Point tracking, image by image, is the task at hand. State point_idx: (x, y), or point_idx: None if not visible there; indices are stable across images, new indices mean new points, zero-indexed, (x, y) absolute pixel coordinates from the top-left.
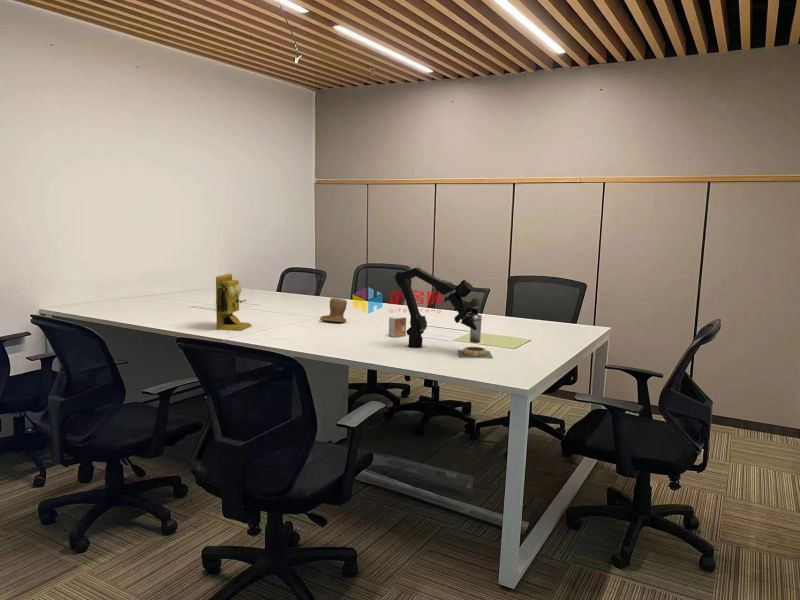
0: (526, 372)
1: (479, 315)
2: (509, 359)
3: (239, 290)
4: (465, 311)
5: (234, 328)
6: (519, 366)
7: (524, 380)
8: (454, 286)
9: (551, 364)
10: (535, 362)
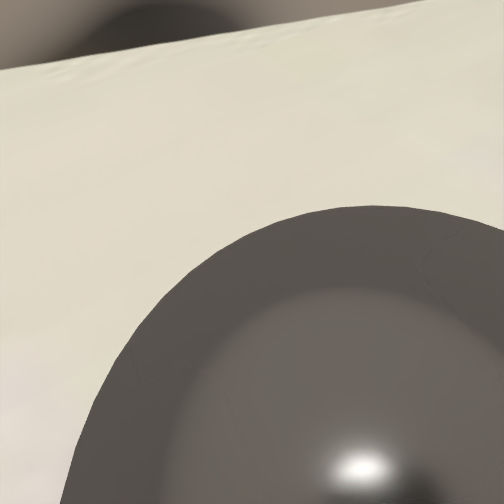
0: (372, 57)
1: (312, 318)
2: (208, 208)
3: None
4: None
5: None
6: (306, 113)
7: (478, 18)
8: None
9: (161, 62)
10: (174, 108)
